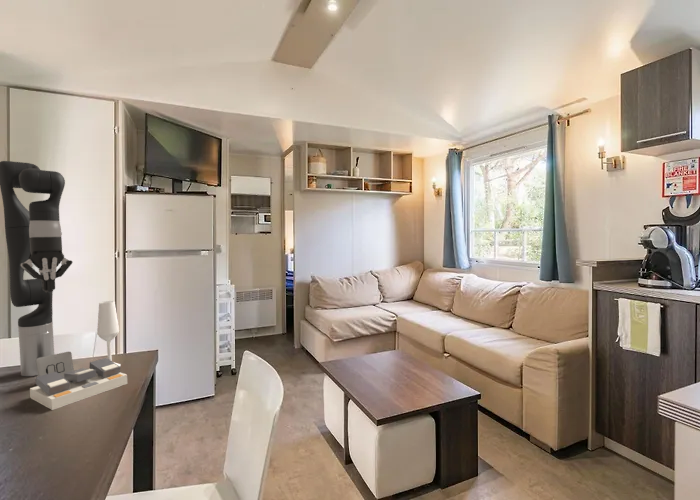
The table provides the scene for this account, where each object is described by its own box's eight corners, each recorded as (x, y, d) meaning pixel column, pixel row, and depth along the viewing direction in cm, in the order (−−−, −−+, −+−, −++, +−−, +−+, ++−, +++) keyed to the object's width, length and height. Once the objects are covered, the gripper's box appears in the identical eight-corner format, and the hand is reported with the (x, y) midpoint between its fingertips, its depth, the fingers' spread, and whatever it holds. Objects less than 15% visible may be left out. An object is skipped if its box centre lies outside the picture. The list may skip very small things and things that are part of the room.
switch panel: (30, 398, 108) (29, 385, 107) (104, 375, 125) (103, 364, 125) (52, 410, 100) (51, 397, 100) (127, 383, 117) (127, 372, 117)
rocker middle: (64, 379, 112) (63, 372, 112) (83, 374, 117) (82, 367, 117) (77, 382, 108) (77, 374, 108) (96, 376, 112) (95, 368, 112)
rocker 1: (35, 383, 106) (35, 376, 106) (56, 377, 111) (56, 370, 110) (48, 395, 102) (49, 387, 102) (69, 388, 106) (69, 381, 106)
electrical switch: (39, 388, 115) (37, 359, 115) (35, 386, 118) (33, 357, 118) (75, 379, 122) (73, 351, 122) (70, 377, 125) (68, 350, 125)
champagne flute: (97, 371, 128) (94, 304, 127) (99, 365, 134) (96, 301, 133) (120, 368, 131) (117, 302, 130) (121, 362, 137) (118, 299, 136)
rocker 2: (89, 368, 118) (89, 361, 118) (106, 363, 123) (106, 356, 122) (103, 377, 114) (103, 371, 114) (120, 372, 118) (120, 366, 118)
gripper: (65, 235, 118) (68, 288, 119) (12, 236, 107) (16, 294, 108) (76, 235, 115) (79, 289, 115) (22, 236, 103) (26, 296, 104)
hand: (48, 291), depth 112 cm, fingers closed
